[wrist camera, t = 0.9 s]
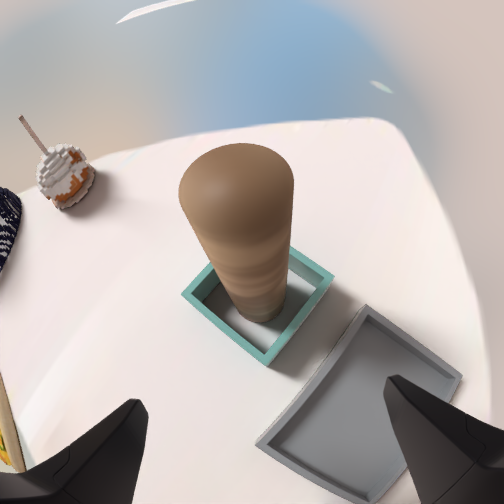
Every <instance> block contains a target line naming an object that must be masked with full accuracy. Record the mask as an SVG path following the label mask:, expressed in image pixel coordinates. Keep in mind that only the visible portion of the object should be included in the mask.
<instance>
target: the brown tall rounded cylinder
mask: <svg viewBox="0 0 504 504" xmlns="http://www.w3.org/2000/svg"><path fill="white" fill-rule="evenodd" d="M293 191H294V178H293V173H292V170H291V168H290V166H289V165H288V163H287V162H286V161H285V159H284V158H283V157H281V156H280V155H279V154H278V153H276V152H275V151H273V150H271V149H269V148H266V147H264V146H260V145H256V144H248V143H237V144H229V145H225V146H221V147H218V148H215V149H213V150H211V151H209V152H207V153H205V154H203V155H202V156H200V157H199V158H198V159H196V160H195V161H194V162H193V163H192V164H191V165H190V166H189V167H188V169H187V170H186V172H185V173H184V175H183V177H182V179H181V182H180V185H179V201H180V204H181V207H182V209H183V211H184V213H185V215H186V217H187V219H188V221H189V223H190V225H191V226H192V228H193V230H194V232H195V234H196V236H197V238H198V240H199V242H200V243H201V245H202V247H203V249H204V251H205V253H206V255H207V256H208V258H209V260H210V262H211V264H212V266H213V268H214V269H215V271H216V273H217V275H218V277H219V278H220V280H221V282H222V284H223V286H224V287H225V289H226V291H227V293H228V294H229V296H230V298H231V300H232V302H233V303H234V305H235V307H236V309H237V310H238V312H239V313H240V314H241V315H242V316H243V317H244V318H245V319H247V320H249V321H252V322H266V321H269V320H271V319H273V318H275V317H276V316H277V315H278V314H279V313H280V312H281V310H282V308H283V306H284V303H285V295H286V285H287V274H288V262H289V250H290V237H291V223H292V208H293Z"/></svg>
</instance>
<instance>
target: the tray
mask: <svg viewBox="0 0 504 504" xmlns="http://www.w3.org/2000/svg"><path fill="white" fill-rule="evenodd" d="M394 374H399V375H401V376H402V377H404V378H406V379H407V380H409V381H411V382H413V383H414V384H416V385H418V386H419V387H421V388H423V389H424V390H426V391H428V392H430V393H431V394H433V395H435V396H437V397H438V398H440V399H442V400H444V401H445V402H447V403H449V402H450V400H451V398H452V396H453V394H454V392H455V390H456V388H457V386H458V384H459V382H460V380H461V378H462V376H463V375H462V374H461V373H459V372H458V371H457V370H455V369H454V368H453V367H451V366H450V365H449V364H447V363H446V362H445V361H444V360H442V359H441V358H439V357H438V356H437V355H435V354H434V353H433V352H431V351H430V350H429V349H427V348H426V347H425V346H423V345H422V344H421V343H419V342H418V341H417V340H415V339H414V338H412V337H411V336H410V335H408V334H407V333H406V332H404V331H403V330H401V329H400V328H399V327H397V326H396V325H395V324H393V323H392V322H390V321H389V320H388V319H386V318H385V317H383V316H382V315H381V314H379V313H378V312H376V311H375V310H374V309H372V308H371V307H369V306H368V305H367V304H365V305H364V306H363V307H362V308H361V309H360V310H359V311H358V313H357V314H356V316H355V317H354V319H353V320H352V322H351V323H350V325H349V326H348V328H347V329H346V331H345V332H344V334H343V335H342V337H341V338H340V339H339V341H338V342H337V344H336V345H335V347H334V348H333V349H332V351H331V352H330V353H329V355H328V356H327V358H326V359H325V360H324V362H323V363H322V364H321V366H320V367H319V368H318V369H317V371H316V372H315V373H314V375H313V376H312V377H311V378H310V380H309V381H308V382H307V383H306V385H305V386H304V387H303V388H302V390H301V391H300V392H299V393H298V394H297V396H296V397H295V398H294V399H293V400H292V402H291V403H290V404H289V405H288V406H287V407H286V409H285V410H284V411H283V412H282V413H281V414H280V415H279V416H278V418H277V419H276V420H275V421H274V422H273V423H272V424H271V425H270V426H269V427H268V428H267V429H266V431H265V432H264V433H263V434H262V435H261V436H260V437H259V438H258V439H257V441H256V444H255V446H257V447H258V448H259V449H261V450H262V451H264V452H265V453H267V454H268V455H269V456H271V457H272V458H274V459H275V460H277V461H278V462H280V463H282V464H283V465H285V466H286V467H288V468H289V469H291V470H293V471H294V472H296V473H298V474H299V475H301V476H303V477H304V478H306V479H308V480H310V481H311V482H313V483H315V484H317V485H319V486H320V487H322V488H324V489H326V490H328V491H330V492H332V493H334V494H336V495H338V496H340V497H342V498H344V499H346V500H348V501H350V502H353V503H355V504H375V503H376V502H377V501H378V500H379V499H380V498H381V497H382V496H383V495H384V494H385V492H386V491H387V490H388V489H389V488H390V487H391V486H392V485H393V483H394V482H395V481H396V480H397V479H398V477H399V476H400V475H401V474H402V473H403V471H404V470H405V469H406V468H407V463H406V461H405V458H404V456H403V453H402V451H401V448H400V446H399V443H398V441H397V438H396V436H395V434H394V431H393V428H392V425H391V421H390V418H389V414H388V411H387V407H386V404H385V400H384V397H383V391H384V387H385V382H386V379H387V377H388V376H391V375H394Z"/></svg>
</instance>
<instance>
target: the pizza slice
mask: <svg viewBox="0 0 504 504" xmlns="http://www.w3.org/2000/svg"><path fill="white" fill-rule="evenodd" d="M0 459H1V460H2V461H3V462H4V463H6V464H7V465H12V466H13V468H14V469H15V470H16V471H17V472H19V473H22V472H25V471H27V468H26V464H25V459H24V455H23V451H22V447H21V443H20V439H19V435H18V431H17V427H16V423H15V422H14V421H13V418H12V414H11V410H10V406H9V403H8V399H7V395H6V392H5V388H4V384H3V381H2V377H1V374H0Z"/></svg>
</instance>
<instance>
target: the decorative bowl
mask: <svg viewBox="0 0 504 504" xmlns="http://www.w3.org/2000/svg"><path fill="white" fill-rule="evenodd" d="M4 195H5V196H6V197H7V198H6V197H5V196H4ZM7 199H8V201H9V202H10V203H11V204H12V206H13V207H14V208H15V209H16V210H17V211H18V212H19V215H20V216H19V215H18V214H17V213H16V212H15V211H14V210H13V209H12V208H11V206H9V204H8V202H7V201H6V200H7ZM10 199H11V200H12V201H11V200H10ZM17 200H18V201H17ZM5 203H6V204H7V205H6V204H5ZM13 203H14V204H15V205H16V206H15V205H14V204H13ZM21 204H22V203H21V200H20V198H18V196H17V195H15V194H14V193H13V192H11V191H9V190H8V189H7V188H4V189H3V188H2V187H0V206H1V207H0V216H1V217H2V218H3V219H4V218H5V222H6V223H7V224H9V223H10V224H11V225H12V227H14V228H15V229H16V232H15V231H14V230H13V229H12V228H11V227H10V226H9V225H8V226H6V225H5V226H4V225H3V227H2V225H0V233H1V231H2V232H3V231H4V232H5V233H6V231H7V232H8V233H9V234H10V236H9V235H8V234H7V236H6V235H5V234H4V236H5V237H4V236H3V235H0V241H1V240H3V241H4V240H6V241H7V239H8V240H9V241H10V242H11V243H12V245H13V244H14V240H15V237H16V236H17V231H18V228H19V223H20V219H21V214H22V213H21V210H22V209H21V207H22V206H21ZM8 207H9V208H10V209H11V210H12V211H11V210H10V209H9V208H8ZM16 207H17V208H18V209H19V210H20V211H19V210H18V209H17V208H16ZM3 210H4V211H3ZM3 212H5V213H3ZM1 213H2V214H1ZM13 213H14V214H15V215H16V216H17V217H18V218H19V219H18V218H15V215H14V214H13ZM11 214H12V216H11ZM8 216H9V217H10V218H9V217H8ZM6 218H7V219H8V221H7V220H6ZM10 219H12V220H13V221H12V220H11V221H10ZM15 223H16V224H17V225H18V226H17V225H16V224H15ZM12 234H13V235H14V237H13V236H12ZM0 245H1V246H2V245H4V246H5V245H6V246H7V247H9V248H10V249H9V250H8V248H6V250H5V249H1V248H0V252H1V253H2V252H4V251H5V252H6V253H7V256H6V257H4V256H2V255H0V267H1V268H0V272H1V270H2V269H3V268H2V267H3V266H4V264H5V261H6V260H7V257H8V255H9V254H10V251H11V248H12V247H13V246H12V245H11V244H9V245H8V244H7V243H5V244H4V243H3V242H1V243H0Z"/></svg>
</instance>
